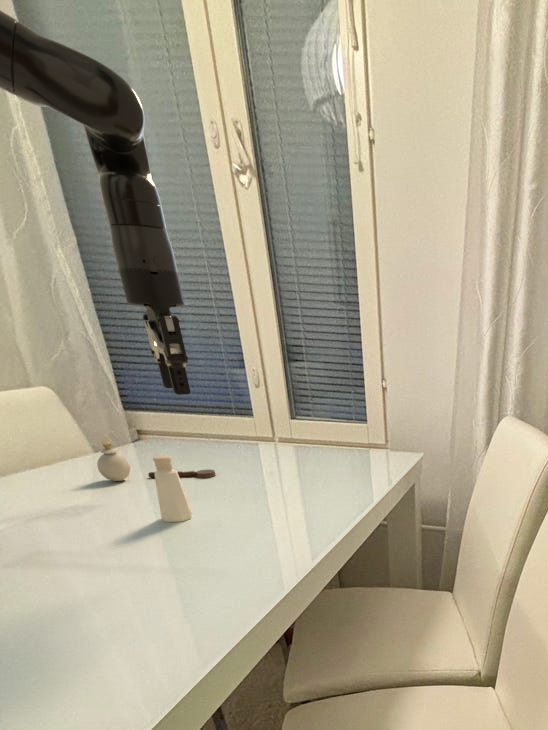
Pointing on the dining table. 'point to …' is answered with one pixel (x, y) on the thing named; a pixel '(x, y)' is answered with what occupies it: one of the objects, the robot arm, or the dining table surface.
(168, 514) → the salt shaker
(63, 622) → the dining table surface
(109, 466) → the ornament
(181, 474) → the walnut spoon
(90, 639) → the dining table surface
